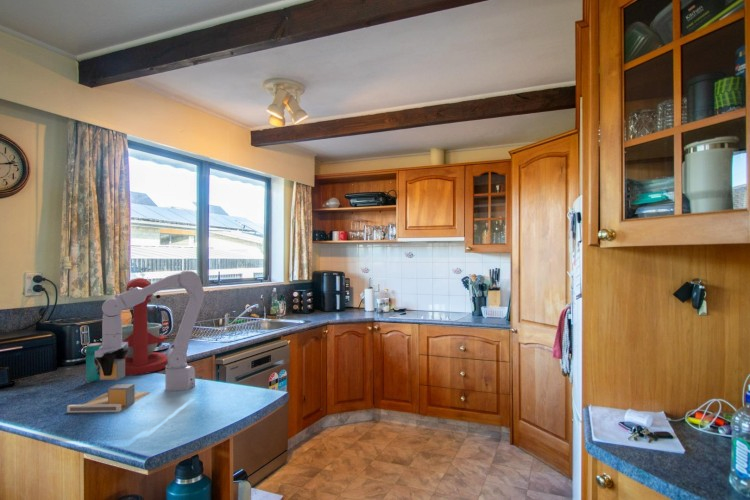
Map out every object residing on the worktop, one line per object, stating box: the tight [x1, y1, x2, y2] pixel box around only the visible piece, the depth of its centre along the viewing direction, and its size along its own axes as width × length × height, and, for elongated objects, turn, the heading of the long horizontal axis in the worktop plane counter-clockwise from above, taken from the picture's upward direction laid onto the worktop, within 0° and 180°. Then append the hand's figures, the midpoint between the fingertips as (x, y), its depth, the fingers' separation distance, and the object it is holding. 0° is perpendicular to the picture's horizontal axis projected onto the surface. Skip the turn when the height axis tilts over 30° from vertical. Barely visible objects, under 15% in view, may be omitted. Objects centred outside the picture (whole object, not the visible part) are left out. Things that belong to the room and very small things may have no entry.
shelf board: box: [66, 391, 152, 414], centre depth 133 cm, size 16×18×1 cm
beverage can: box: [85, 342, 103, 384], centre depth 159 cm, size 6×6×15 cm
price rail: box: [66, 404, 122, 413], centre depth 124 cm, size 16×1×2 cm, turn 91°
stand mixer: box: [122, 277, 168, 376], centre depth 181 cm, size 24×32×40 cm
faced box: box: [107, 383, 136, 408], centre depth 130 cm, size 6×4×6 cm
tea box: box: [100, 359, 126, 381], centre depth 137 cm, size 6×4×6 cm
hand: (112, 373), depth 137 cm, fingers closed on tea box, 4 cm apart
